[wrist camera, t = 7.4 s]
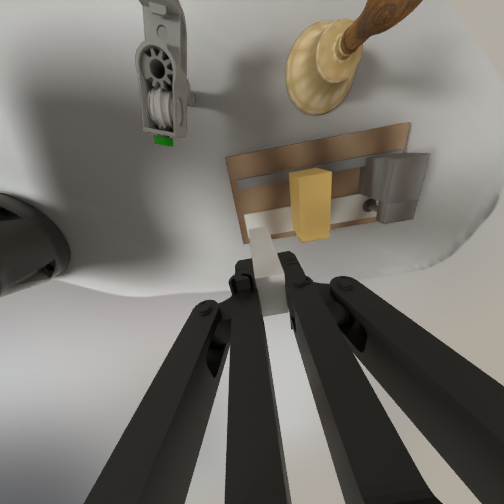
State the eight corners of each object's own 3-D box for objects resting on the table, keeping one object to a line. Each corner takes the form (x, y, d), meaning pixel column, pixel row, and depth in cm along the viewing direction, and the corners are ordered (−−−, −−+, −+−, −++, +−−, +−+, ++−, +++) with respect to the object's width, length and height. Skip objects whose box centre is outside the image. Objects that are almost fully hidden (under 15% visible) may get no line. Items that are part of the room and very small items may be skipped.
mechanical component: (202, 43, 21) (174, -33, 12) (199, 148, 26) (177, 147, 17) (175, 36, 20) (124, -48, 12) (177, 144, 25) (142, 141, 16)
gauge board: (243, 240, 32) (243, 265, 25) (226, 157, 26) (220, 160, 19) (384, 215, 31) (425, 234, 24) (401, 123, 25) (462, 113, 18)
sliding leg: (291, 226, 29) (301, 242, 24) (287, 172, 25) (298, 177, 20) (314, 222, 29) (329, 237, 24) (314, 167, 25) (331, 171, 20)
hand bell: (288, 21, 20) (389, -262, 6) (363, 22, 21) (620, -247, 7) (283, 115, 24) (338, 70, 10) (346, 115, 25) (483, 70, 11)
